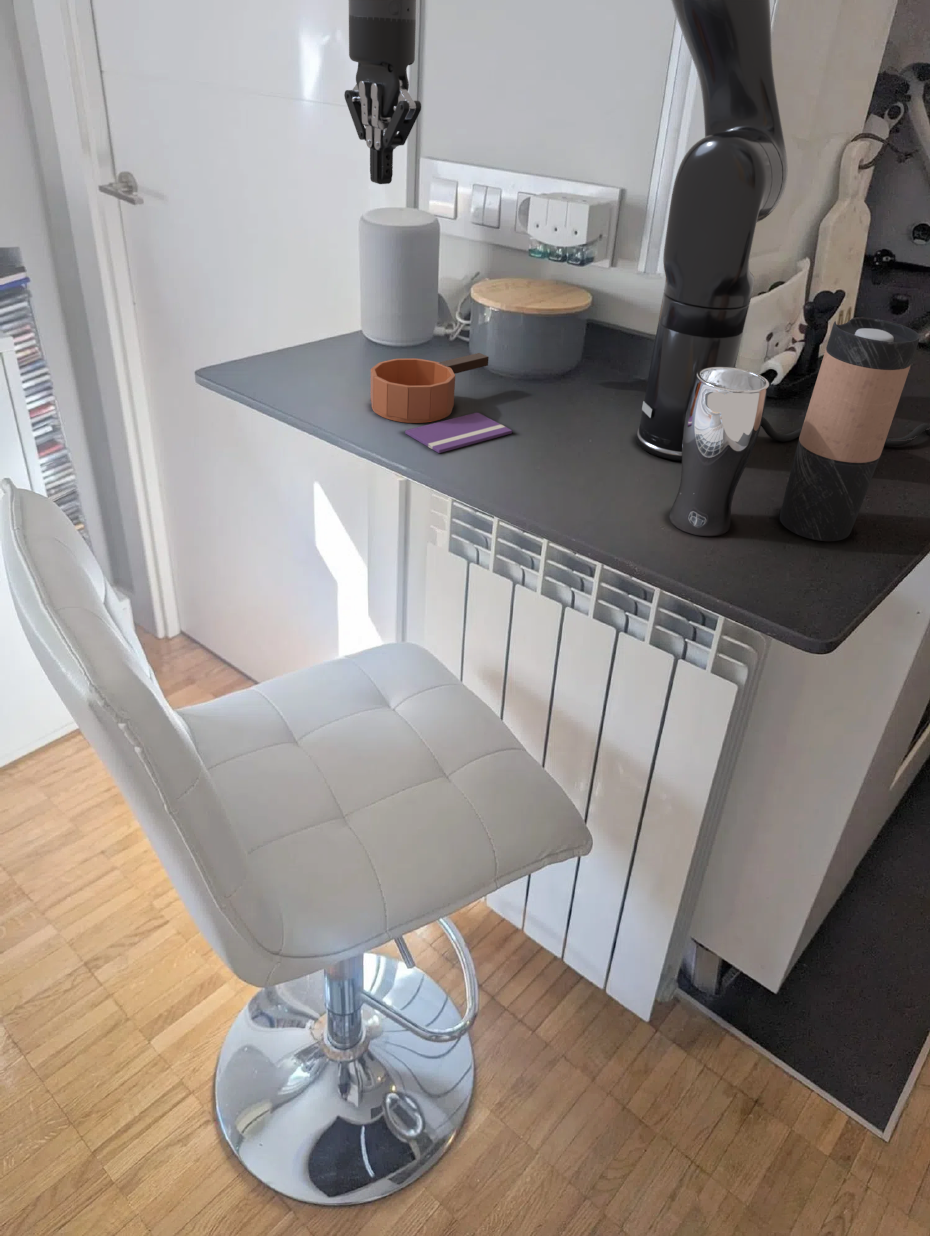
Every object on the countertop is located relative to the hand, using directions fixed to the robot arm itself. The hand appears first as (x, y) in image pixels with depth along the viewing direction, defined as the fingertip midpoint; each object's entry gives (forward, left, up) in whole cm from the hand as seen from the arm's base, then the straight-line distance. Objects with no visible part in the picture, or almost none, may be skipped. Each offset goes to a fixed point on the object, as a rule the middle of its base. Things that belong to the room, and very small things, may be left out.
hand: (380, 182), depth 111 cm
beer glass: (-2, +54, -23) cm, 59 cm away
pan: (+2, +14, -23) cm, 27 cm away
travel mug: (-12, +61, -23) cm, 66 cm away
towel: (+5, +24, -23) cm, 33 cm away
